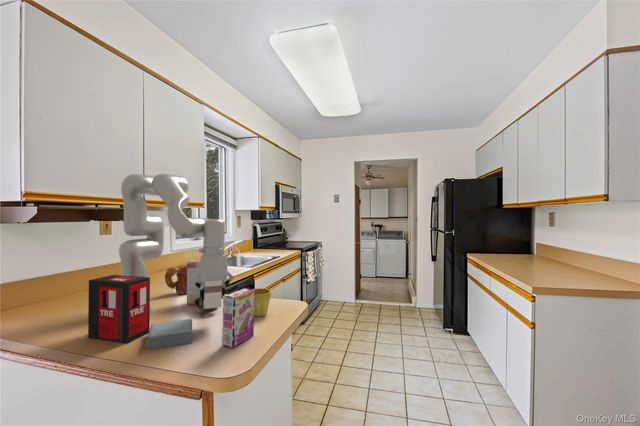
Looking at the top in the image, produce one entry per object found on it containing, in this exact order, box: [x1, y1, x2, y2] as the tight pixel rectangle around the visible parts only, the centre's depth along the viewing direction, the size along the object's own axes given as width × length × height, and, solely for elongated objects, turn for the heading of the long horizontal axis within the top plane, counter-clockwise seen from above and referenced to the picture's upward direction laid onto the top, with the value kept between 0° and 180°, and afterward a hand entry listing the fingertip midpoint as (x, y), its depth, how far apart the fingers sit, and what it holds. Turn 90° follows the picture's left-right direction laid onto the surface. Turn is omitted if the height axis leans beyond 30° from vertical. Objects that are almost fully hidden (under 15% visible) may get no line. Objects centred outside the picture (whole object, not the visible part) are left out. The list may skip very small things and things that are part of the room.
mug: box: [164, 265, 187, 295], centre depth 151 cm, size 15×8×15 cm, turn 144°
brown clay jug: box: [195, 298, 218, 317], centre depth 124 cm, size 12×10×8 cm
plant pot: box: [251, 287, 272, 317], centre depth 123 cm, size 10×10×10 cm
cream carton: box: [203, 280, 223, 309], centre depth 108 cm, size 6×7×10 cm
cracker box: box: [186, 259, 201, 306], centre depth 135 cm, size 14×6×21 cm, turn 84°
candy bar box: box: [221, 288, 255, 349], centre depth 97 cm, size 11×5×16 cm, turn 157°
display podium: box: [146, 318, 193, 351], centre depth 98 cm, size 13×13×4 cm
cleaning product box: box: [87, 274, 151, 344], centre depth 100 cm, size 16×9×20 cm, turn 77°
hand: (212, 298), depth 108 cm, fingers closed on cream carton, 6 cm apart
